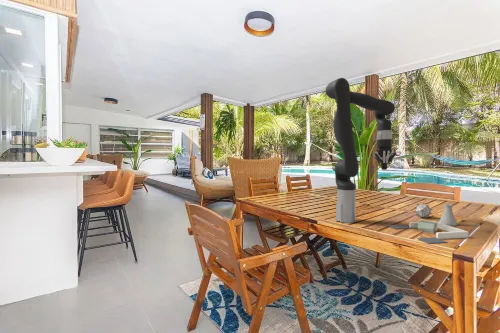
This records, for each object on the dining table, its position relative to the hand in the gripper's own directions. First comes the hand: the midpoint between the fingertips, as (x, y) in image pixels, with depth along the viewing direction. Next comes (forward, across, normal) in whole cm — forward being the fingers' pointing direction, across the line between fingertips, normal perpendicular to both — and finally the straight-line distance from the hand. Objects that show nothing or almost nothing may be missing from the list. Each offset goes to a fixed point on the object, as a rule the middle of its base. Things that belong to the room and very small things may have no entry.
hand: (384, 169), depth 140 cm
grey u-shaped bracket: (+27, +6, -29) cm, 40 cm away
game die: (+27, +20, -4) cm, 34 cm away
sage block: (+27, +5, -26) cm, 38 cm away
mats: (+27, -4, -29) cm, 40 cm away
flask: (+27, +22, -18) cm, 39 cm away
